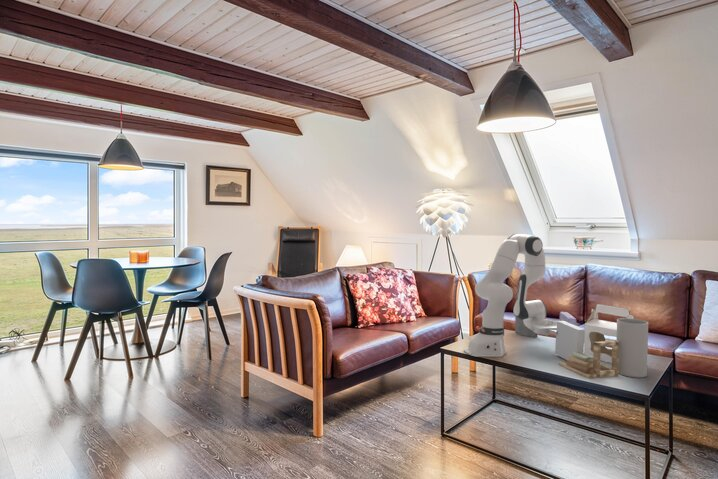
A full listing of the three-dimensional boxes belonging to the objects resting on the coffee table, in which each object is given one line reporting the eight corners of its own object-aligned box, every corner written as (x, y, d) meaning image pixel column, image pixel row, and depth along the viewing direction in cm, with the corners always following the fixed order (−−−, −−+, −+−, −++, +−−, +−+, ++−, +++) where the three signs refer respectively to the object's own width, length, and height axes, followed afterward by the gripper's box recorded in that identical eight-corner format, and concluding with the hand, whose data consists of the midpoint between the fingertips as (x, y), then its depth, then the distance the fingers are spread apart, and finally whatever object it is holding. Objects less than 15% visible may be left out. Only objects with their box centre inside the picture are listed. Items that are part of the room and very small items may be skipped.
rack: (587, 378, 201) (588, 343, 201) (558, 364, 221) (559, 332, 220) (618, 375, 205) (619, 341, 204) (587, 362, 224) (588, 331, 224)
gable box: (640, 363, 224) (641, 308, 223) (626, 367, 217) (628, 311, 216) (597, 352, 243) (598, 301, 242) (583, 355, 236) (584, 304, 235)
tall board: (575, 364, 220) (578, 329, 218) (554, 353, 236) (557, 320, 234) (582, 364, 221) (585, 329, 219) (561, 353, 237) (563, 320, 235)
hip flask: (538, 337, 275) (538, 305, 274) (534, 337, 273) (534, 305, 272) (517, 331, 288) (517, 301, 288) (513, 332, 286) (513, 301, 285)
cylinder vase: (612, 368, 215) (613, 317, 214) (641, 370, 212) (643, 319, 211) (619, 376, 203) (621, 323, 202) (650, 379, 200) (652, 325, 199)
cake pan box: (576, 349, 247) (577, 318, 247) (566, 349, 248) (567, 318, 248) (566, 340, 266) (567, 311, 266) (557, 340, 267) (558, 311, 266)
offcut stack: (585, 373, 203) (585, 358, 202) (566, 365, 215) (566, 350, 215) (595, 373, 204) (596, 358, 204) (576, 364, 217) (576, 350, 216)
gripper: (528, 321, 245) (544, 327, 231) (560, 320, 249) (577, 326, 236) (528, 333, 245) (543, 339, 232) (560, 331, 250) (577, 337, 236)
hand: (561, 332), depth 234 cm, fingers closed on tall board, 4 cm apart
